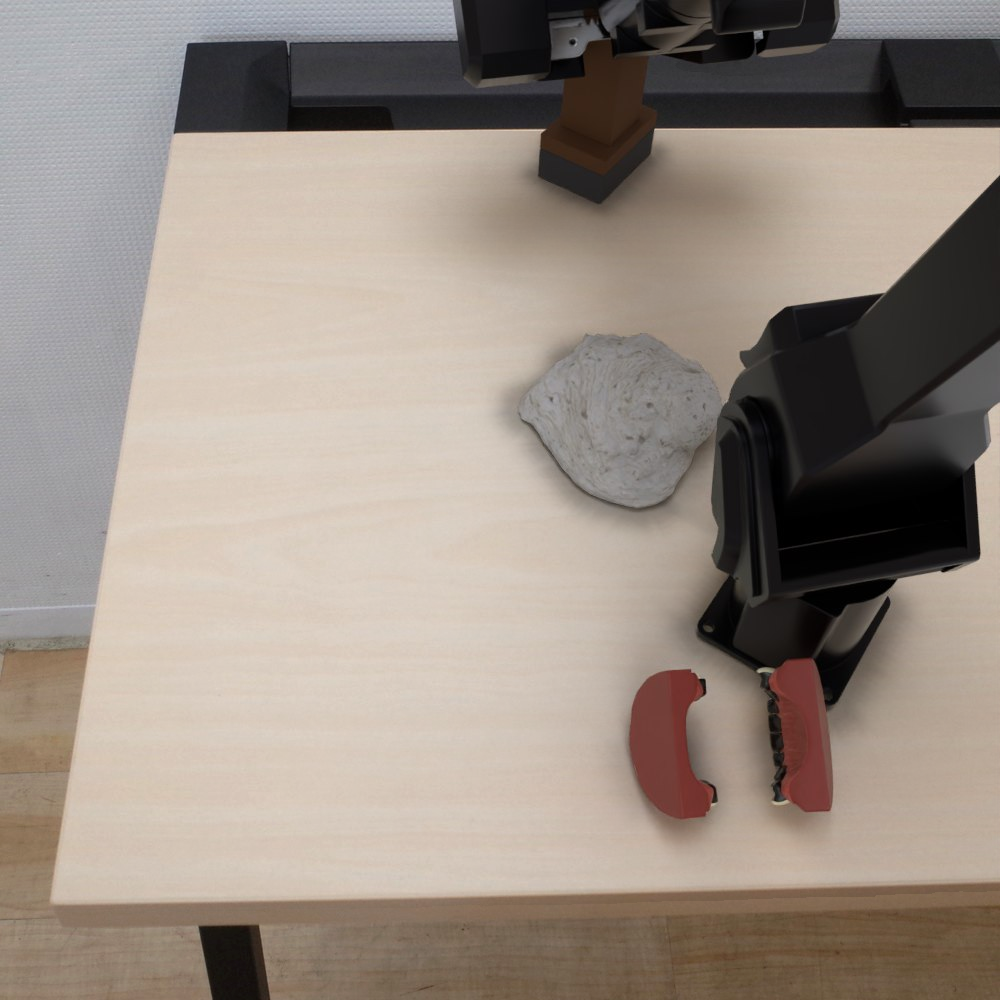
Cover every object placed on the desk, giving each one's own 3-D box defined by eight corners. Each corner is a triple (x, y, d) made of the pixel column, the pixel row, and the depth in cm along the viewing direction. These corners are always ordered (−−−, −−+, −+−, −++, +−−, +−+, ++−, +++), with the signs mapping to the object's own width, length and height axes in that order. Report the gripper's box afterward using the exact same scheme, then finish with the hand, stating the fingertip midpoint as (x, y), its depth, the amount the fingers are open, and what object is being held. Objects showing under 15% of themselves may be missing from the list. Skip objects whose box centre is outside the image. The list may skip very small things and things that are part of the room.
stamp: (600, 204, 64) (627, -10, 53) (537, 176, 65) (552, -38, 55) (651, 153, 67) (686, -59, 56) (590, 127, 68) (613, -85, 58)
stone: (528, 302, 55) (729, 298, 53) (544, 368, 59) (732, 368, 56) (487, 447, 49) (710, 452, 47) (507, 511, 53) (716, 519, 50)
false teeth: (632, 811, 44) (830, 795, 44) (646, 827, 40) (865, 810, 40) (620, 670, 45) (814, 655, 45) (632, 671, 40) (847, 655, 41)
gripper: (890, -276, 46) (744, -123, 61) (455, -251, 43) (415, -97, 58) (908, 3, 48) (762, 84, 63) (493, 45, 45) (445, 119, 60)
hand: (601, 44), depth 61 cm, fingers closed on stamp, 5 cm apart
